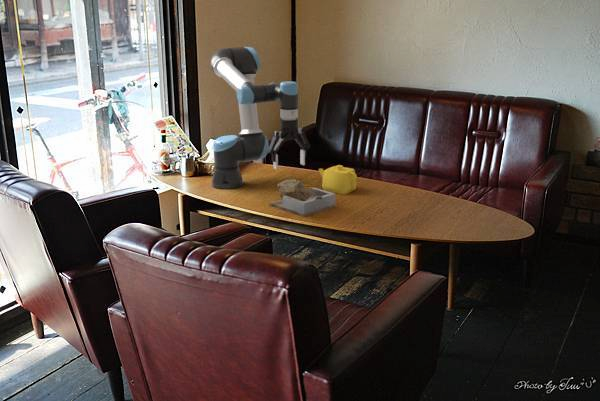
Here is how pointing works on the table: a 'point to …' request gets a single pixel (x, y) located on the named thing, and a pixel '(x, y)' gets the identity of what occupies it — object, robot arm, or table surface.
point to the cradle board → (279, 205)
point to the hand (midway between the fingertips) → (289, 166)
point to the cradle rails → (310, 201)
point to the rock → (293, 189)
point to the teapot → (338, 179)
